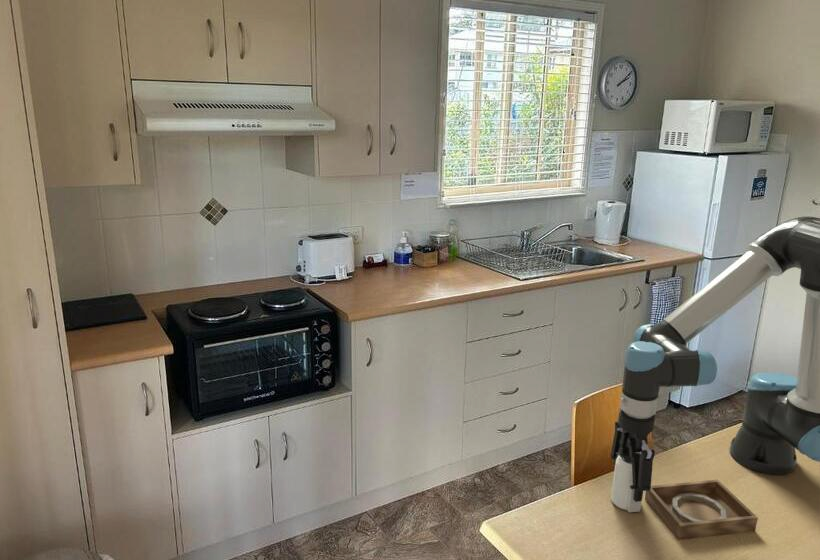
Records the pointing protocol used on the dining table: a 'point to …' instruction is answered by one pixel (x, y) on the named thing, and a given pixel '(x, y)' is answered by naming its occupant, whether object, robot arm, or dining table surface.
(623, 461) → the can
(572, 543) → the dining table surface
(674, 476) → the dining table surface
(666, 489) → the walled box
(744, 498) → the dining table surface
